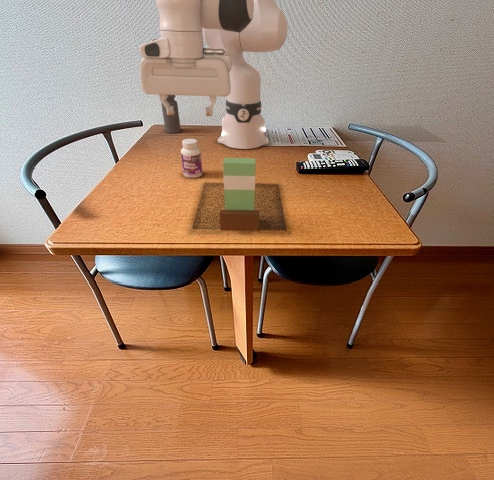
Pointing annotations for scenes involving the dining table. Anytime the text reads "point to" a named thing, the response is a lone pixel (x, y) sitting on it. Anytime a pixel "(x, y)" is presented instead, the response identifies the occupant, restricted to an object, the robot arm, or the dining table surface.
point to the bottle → (171, 116)
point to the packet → (239, 183)
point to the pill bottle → (191, 158)
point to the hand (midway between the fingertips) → (190, 115)
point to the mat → (241, 213)
